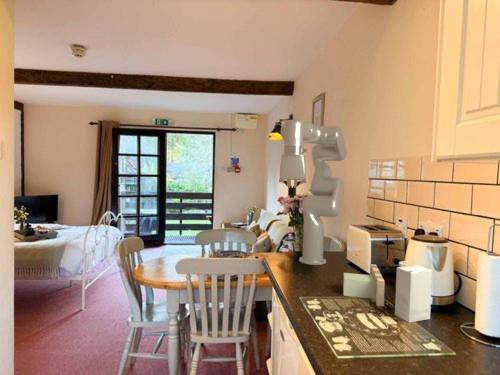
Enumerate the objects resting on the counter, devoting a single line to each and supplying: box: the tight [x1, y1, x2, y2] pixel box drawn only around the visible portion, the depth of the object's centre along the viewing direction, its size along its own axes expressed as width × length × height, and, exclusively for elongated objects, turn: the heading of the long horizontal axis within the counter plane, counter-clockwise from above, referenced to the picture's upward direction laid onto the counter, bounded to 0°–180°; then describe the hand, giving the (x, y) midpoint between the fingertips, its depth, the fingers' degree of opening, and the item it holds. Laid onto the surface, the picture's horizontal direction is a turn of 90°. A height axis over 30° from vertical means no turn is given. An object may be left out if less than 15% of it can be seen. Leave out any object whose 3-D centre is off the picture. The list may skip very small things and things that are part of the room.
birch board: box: [369, 263, 386, 307], centre depth 123 cm, size 22×2×8 cm, turn 167°
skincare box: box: [394, 264, 433, 324], centre depth 103 cm, size 8×6×15 cm
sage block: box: [342, 272, 375, 300], centre depth 124 cm, size 8×10×6 cm
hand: (291, 197), depth 140 cm, fingers closed
